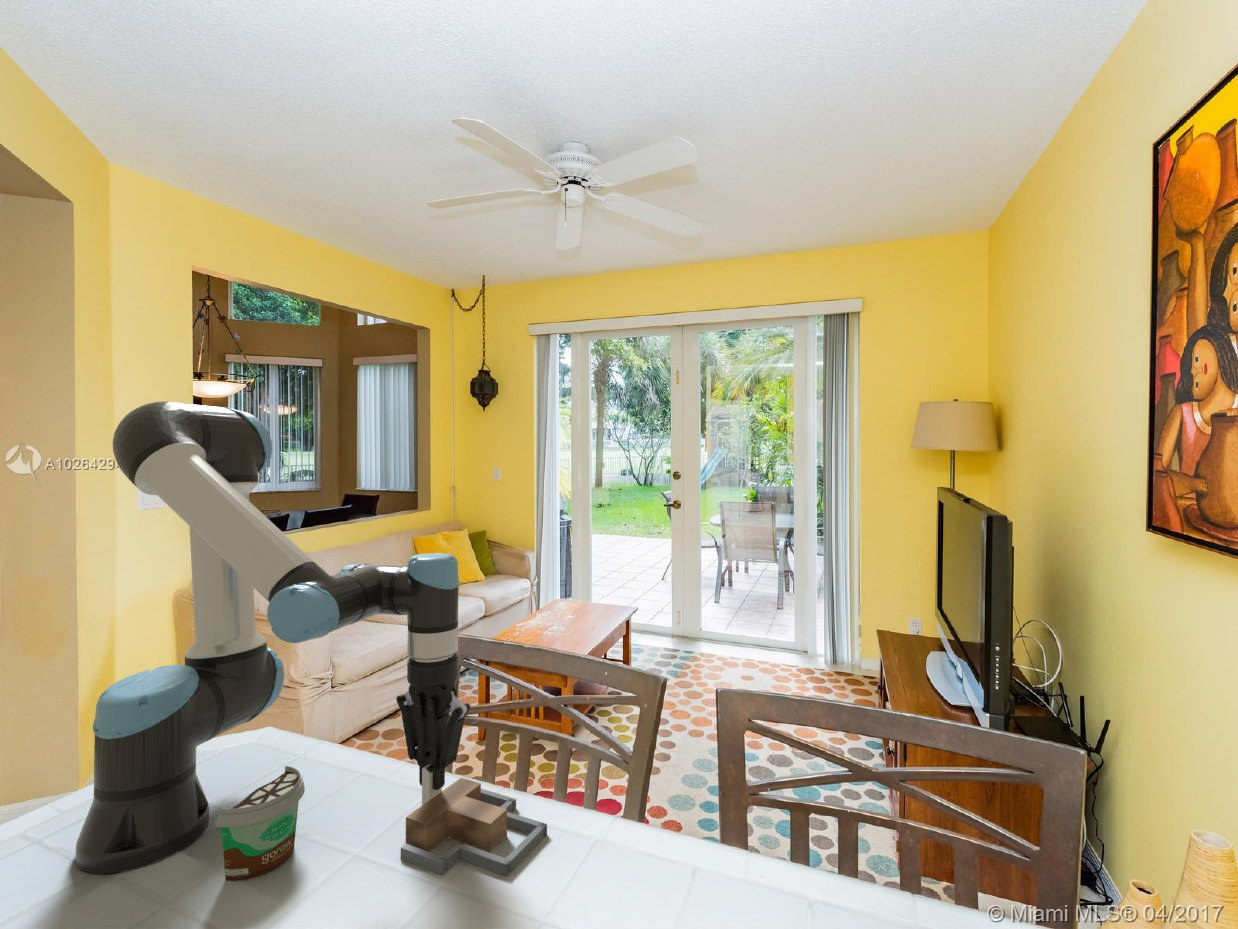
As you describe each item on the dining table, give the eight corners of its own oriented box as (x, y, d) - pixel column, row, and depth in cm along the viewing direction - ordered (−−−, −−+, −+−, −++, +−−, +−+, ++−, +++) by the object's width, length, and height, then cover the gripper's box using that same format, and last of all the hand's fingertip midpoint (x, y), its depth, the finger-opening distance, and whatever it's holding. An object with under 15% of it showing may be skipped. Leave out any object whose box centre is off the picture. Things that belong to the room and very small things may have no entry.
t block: (405, 845, 85) (405, 817, 85) (460, 802, 95) (461, 777, 95) (471, 869, 79) (472, 840, 79) (522, 821, 90) (522, 795, 90)
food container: (256, 896, 74) (257, 817, 74) (215, 888, 75) (216, 811, 76) (323, 836, 86) (324, 768, 86) (287, 831, 88) (288, 764, 88)
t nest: (400, 858, 82) (400, 847, 82) (478, 797, 97) (478, 787, 97) (490, 893, 75) (490, 881, 75) (559, 821, 90) (559, 811, 90)
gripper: (482, 653, 91) (481, 805, 91) (418, 642, 97) (417, 785, 97) (449, 668, 84) (448, 832, 84) (383, 655, 90) (381, 809, 90)
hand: (431, 807), depth 90 cm, fingers closed
